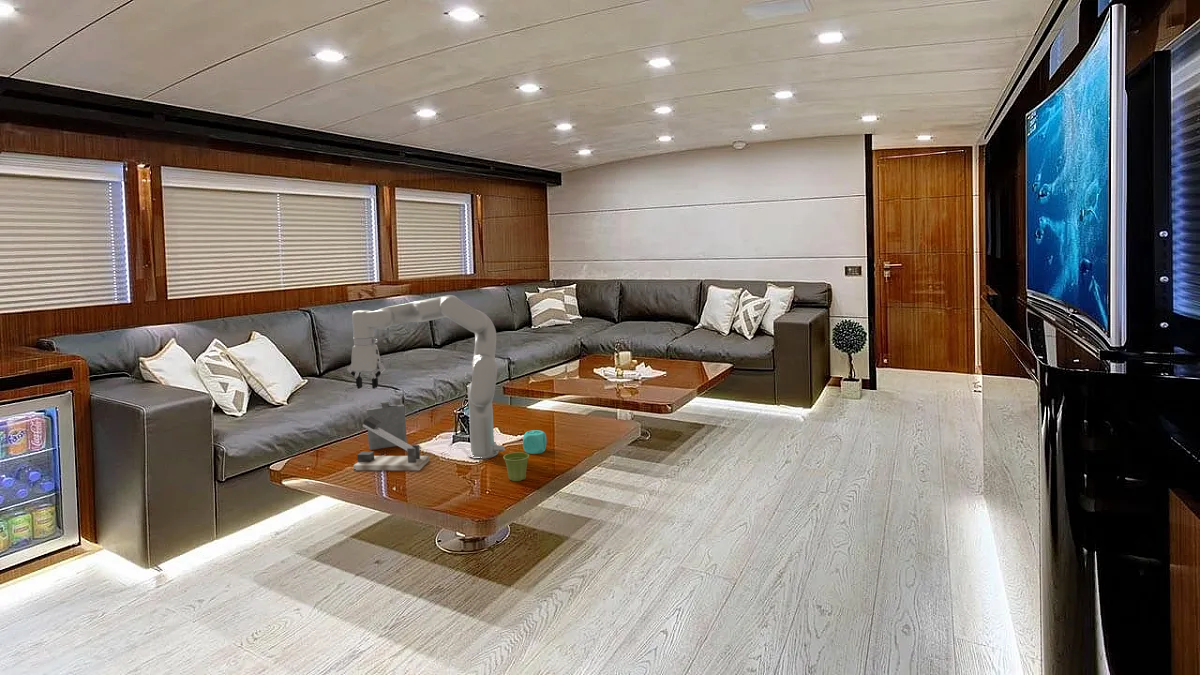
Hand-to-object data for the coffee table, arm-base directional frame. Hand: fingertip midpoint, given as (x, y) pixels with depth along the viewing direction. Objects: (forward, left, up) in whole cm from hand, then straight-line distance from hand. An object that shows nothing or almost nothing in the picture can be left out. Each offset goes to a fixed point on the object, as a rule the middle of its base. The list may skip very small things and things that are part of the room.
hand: (367, 387), depth 259 cm
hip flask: (+4, -26, -32) cm, 41 cm away
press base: (-8, 0, -31) cm, 32 cm away
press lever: (-7, 0, -21) cm, 22 cm away
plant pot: (-61, +15, -32) cm, 70 cm away
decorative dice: (-62, -19, -32) cm, 72 cm away
